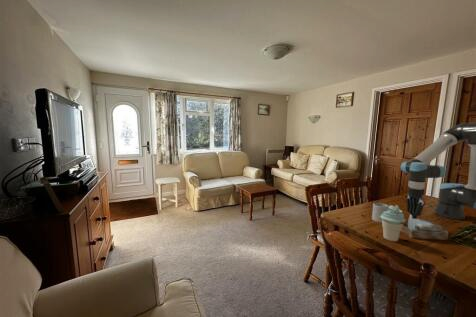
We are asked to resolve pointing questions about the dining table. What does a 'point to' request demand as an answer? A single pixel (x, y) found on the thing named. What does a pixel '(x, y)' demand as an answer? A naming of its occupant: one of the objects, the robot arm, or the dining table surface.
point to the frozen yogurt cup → (392, 223)
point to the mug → (378, 211)
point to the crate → (416, 222)
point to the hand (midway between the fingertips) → (412, 224)
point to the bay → (426, 231)
